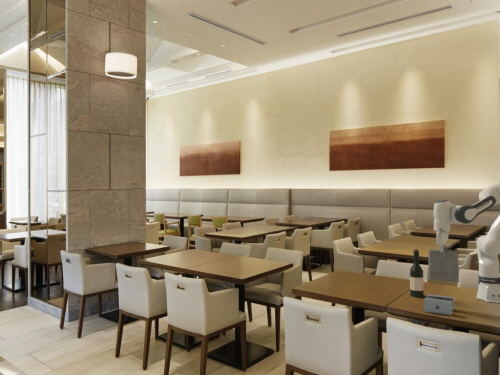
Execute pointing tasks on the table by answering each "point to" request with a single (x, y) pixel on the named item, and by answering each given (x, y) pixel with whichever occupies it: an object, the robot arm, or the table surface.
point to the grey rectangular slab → (443, 265)
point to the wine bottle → (416, 277)
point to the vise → (439, 304)
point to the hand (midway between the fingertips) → (442, 251)
